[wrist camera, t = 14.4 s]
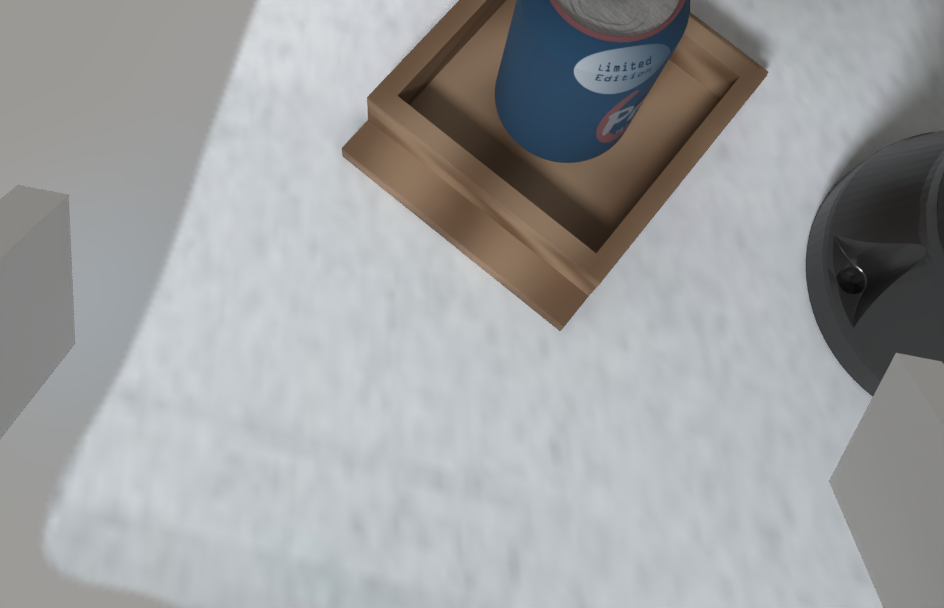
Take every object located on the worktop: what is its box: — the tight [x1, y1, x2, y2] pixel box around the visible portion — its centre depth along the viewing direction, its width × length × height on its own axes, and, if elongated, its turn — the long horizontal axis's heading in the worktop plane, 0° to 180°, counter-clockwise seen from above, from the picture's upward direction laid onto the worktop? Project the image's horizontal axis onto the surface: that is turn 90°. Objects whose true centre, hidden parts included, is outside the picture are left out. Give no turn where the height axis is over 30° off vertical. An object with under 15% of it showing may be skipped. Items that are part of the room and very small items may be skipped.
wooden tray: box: [342, 0, 768, 331], centre depth 45 cm, size 14×18×4 cm
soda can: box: [495, 0, 690, 163], centre depth 40 cm, size 7×7×12 cm
